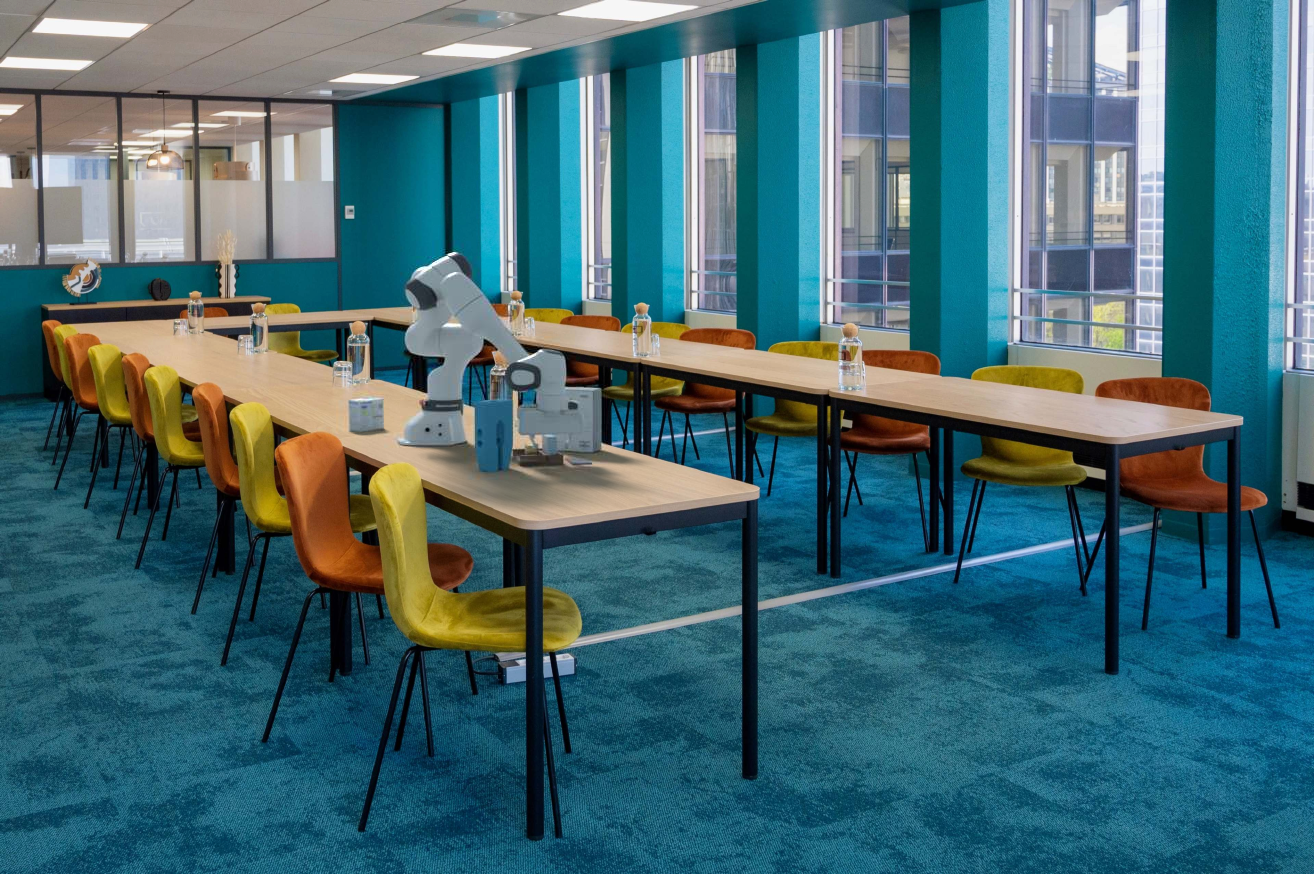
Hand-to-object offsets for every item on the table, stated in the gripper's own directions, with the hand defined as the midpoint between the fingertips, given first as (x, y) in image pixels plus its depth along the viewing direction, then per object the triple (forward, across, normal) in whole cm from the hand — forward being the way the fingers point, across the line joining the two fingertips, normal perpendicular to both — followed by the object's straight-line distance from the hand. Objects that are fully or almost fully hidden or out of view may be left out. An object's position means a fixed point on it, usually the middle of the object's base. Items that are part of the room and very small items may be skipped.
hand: (551, 449), depth 377 cm
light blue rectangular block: (+3, 0, +2) cm, 4 cm away
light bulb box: (+4, -49, +78) cm, 92 cm away
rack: (+4, -4, +2) cm, 6 cm away
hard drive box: (+4, +13, +21) cm, 25 cm away
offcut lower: (+3, -5, +5) cm, 8 cm away
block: (+4, -18, -8) cm, 20 cm away
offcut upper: (+1, -5, +5) cm, 7 cm away
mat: (+4, +8, 0) cm, 9 cm away
